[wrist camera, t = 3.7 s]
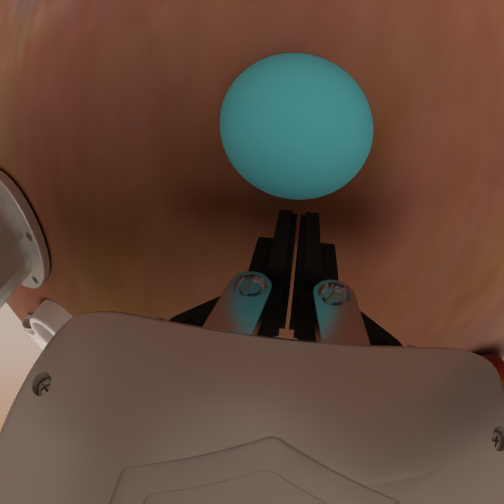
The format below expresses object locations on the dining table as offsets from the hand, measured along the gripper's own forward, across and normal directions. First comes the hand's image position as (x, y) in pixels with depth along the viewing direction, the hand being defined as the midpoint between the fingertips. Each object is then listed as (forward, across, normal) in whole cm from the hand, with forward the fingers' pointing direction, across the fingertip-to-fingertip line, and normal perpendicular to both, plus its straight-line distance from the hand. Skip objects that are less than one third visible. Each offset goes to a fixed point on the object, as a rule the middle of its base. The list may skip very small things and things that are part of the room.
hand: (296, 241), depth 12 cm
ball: (-1, 0, -5) cm, 5 cm away
